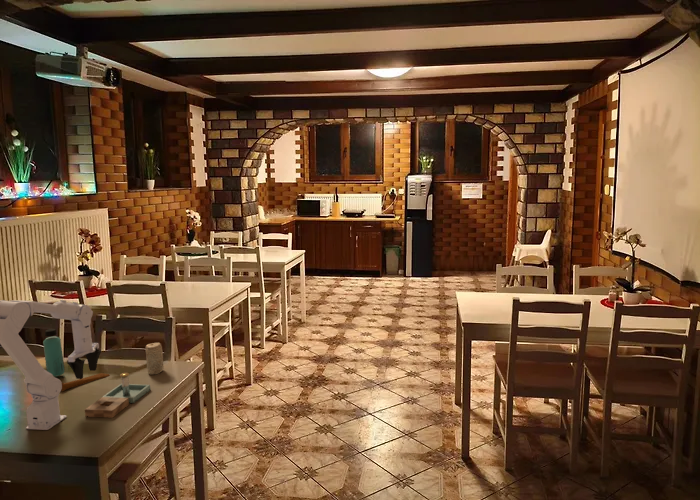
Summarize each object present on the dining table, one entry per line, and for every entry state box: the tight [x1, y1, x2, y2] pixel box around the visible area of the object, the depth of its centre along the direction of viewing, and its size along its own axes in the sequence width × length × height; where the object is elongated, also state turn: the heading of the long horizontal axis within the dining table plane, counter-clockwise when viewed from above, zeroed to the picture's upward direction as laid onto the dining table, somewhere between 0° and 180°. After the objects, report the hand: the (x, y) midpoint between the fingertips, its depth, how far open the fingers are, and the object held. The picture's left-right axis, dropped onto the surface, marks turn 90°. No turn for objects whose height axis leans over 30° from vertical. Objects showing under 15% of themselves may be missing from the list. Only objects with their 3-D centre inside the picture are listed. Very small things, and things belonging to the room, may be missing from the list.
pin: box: [119, 372, 130, 396], centre depth 197 cm, size 3×3×8 cm
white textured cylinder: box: [145, 342, 164, 376], centre depth 219 cm, size 6×8×12 cm
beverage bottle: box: [42, 328, 66, 377], centre depth 217 cm, size 6×7×20 cm
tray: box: [102, 383, 151, 404], centre depth 197 cm, size 12×12×2 cm
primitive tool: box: [60, 372, 110, 392], centre depth 211 cm, size 19×6×4 cm, turn 150°
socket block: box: [84, 396, 130, 419], centre depth 186 cm, size 10×10×2 cm
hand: (86, 374), depth 192 cm, fingers open, 7 cm apart
